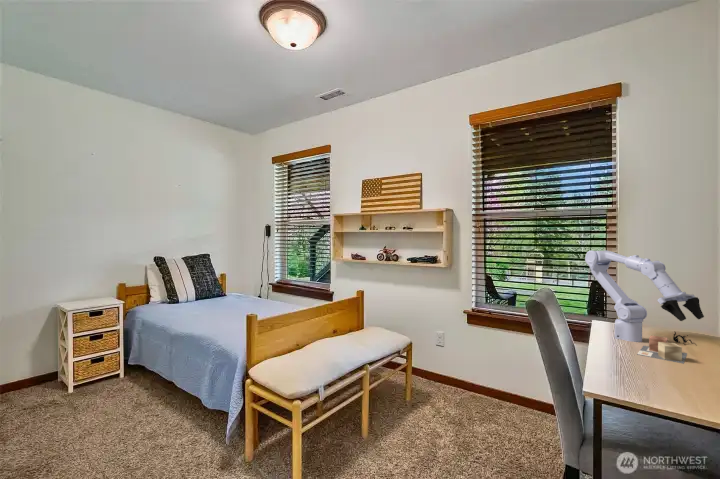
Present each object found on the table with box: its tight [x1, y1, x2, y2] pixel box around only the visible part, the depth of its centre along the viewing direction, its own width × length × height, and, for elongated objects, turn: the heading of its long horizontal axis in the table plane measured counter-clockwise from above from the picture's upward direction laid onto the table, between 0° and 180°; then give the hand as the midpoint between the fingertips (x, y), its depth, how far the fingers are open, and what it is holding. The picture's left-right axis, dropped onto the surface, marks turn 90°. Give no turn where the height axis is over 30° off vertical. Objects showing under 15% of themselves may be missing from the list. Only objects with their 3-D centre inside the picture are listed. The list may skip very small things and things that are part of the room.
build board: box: [636, 345, 688, 365], centre depth 131 cm, size 13×16×1 cm
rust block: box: [648, 334, 669, 352], centre depth 135 cm, size 5×5×5 cm
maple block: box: [658, 342, 683, 361], centre depth 127 cm, size 5×5×5 cm
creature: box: [672, 331, 698, 347], centre depth 145 cm, size 8×5×8 cm
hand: (692, 319), depth 127 cm, fingers open, 7 cm apart
